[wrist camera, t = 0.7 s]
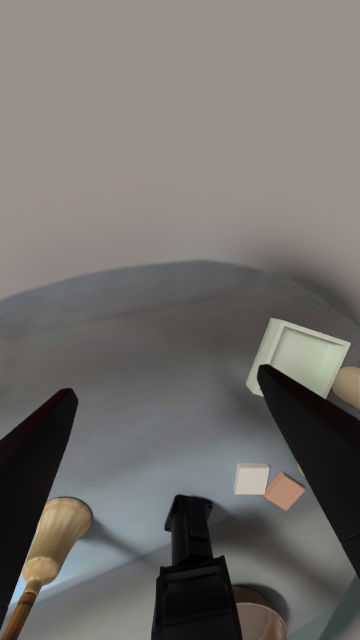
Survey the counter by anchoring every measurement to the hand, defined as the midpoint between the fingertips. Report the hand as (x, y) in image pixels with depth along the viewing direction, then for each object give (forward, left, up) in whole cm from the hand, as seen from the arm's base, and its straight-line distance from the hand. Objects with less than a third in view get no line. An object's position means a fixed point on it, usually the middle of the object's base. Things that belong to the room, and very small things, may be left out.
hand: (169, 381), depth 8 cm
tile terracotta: (-21, -27, -16) cm, 38 cm away
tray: (0, -19, -16) cm, 25 cm away
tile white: (-20, -20, -16) cm, 33 cm away
